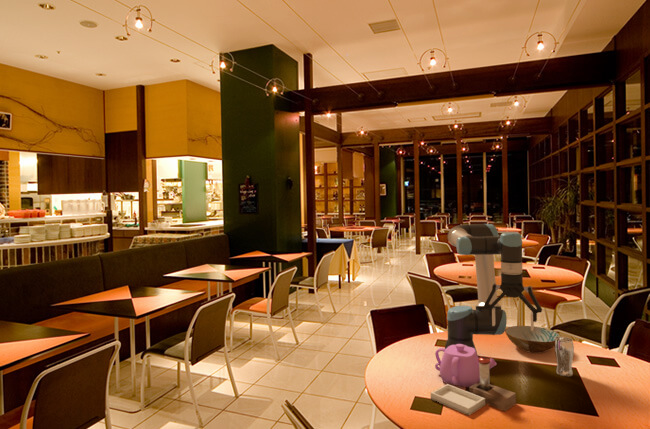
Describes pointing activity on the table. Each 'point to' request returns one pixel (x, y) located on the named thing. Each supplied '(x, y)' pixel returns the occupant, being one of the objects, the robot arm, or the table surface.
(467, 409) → the tray
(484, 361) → the red capped grey tube
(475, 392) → the block
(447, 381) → the teapot
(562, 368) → the beer glass
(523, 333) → the bowl
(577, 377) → the table surface
